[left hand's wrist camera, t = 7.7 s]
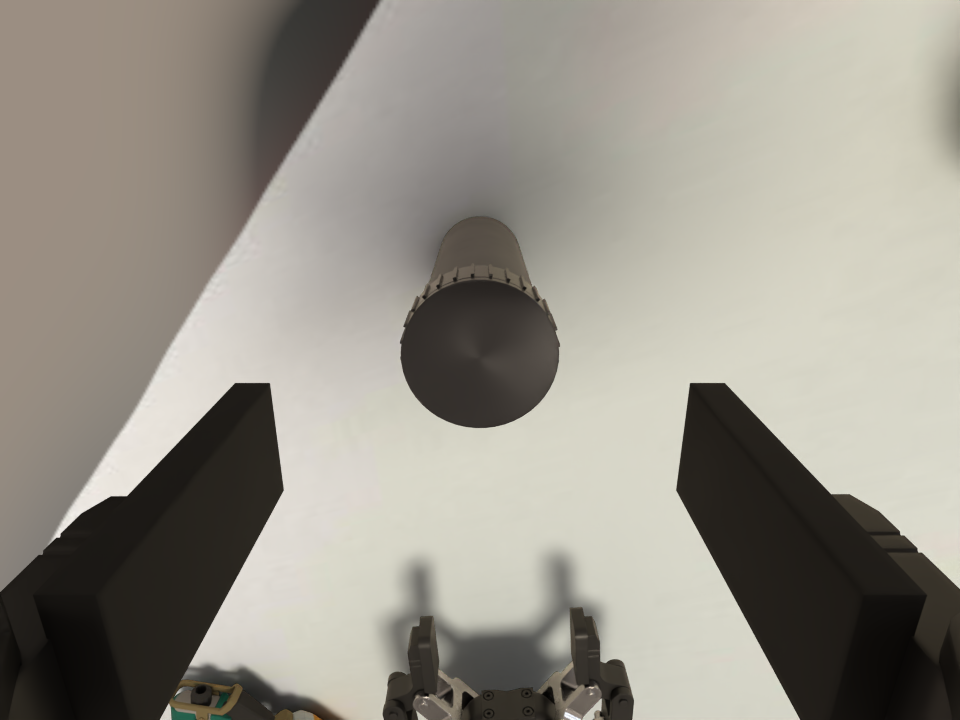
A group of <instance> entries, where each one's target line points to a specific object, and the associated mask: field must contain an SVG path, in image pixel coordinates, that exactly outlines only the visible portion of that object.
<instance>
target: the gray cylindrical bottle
mask: <svg viewBox="0 0 960 720" xmlns="http://www.w3.org/2000/svg"><path fill="white" fill-rule="evenodd" d="M473 263H474V264H475V266H483V265H484V266H488V265H489V264H492V266H493V267H497V268H501V269H504V270H505V268H508V269H509V272H512V273H514V274H516V275H517V276H519V277H520V276H521V275H522V276H523V277H524V279H525V281H526V282H528V283H529V284H530V285H531V286H532V284H531V281H530V278H529V275H528V272H527V269H526V266H525V263H524V260H523V257H522V254H521V251H520V248H519V244H518V242H517V239H516V238H515V236H514V234H513V233H512V232H511V230H510V229H509V228H508V227H507V226H505V225H504V224H503V223H501V222H499V221H498V220H495V219H493V218H489V217H471V218H467V219H465V220H462V221H460V222H459V223H457V224H456V225H455V226H453V227H452V228H451V229H450V230H449V231H448V233H447V234H446V236H445V238H444V239H443V242H442V244H441V247H440V250H439V253H438V256H437V259H436V262H435V266H434V269H433V272H432V275H431V278H430V281H429V285H430V284H431V283H432V282H434V281H435V280H436V279H438V276H439V274H441V273H442V275H444V274H446V273H448V272H450V271H453V270H454V267H458V269H459V268H463V267H468V266H471V264H473Z"/></svg>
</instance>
